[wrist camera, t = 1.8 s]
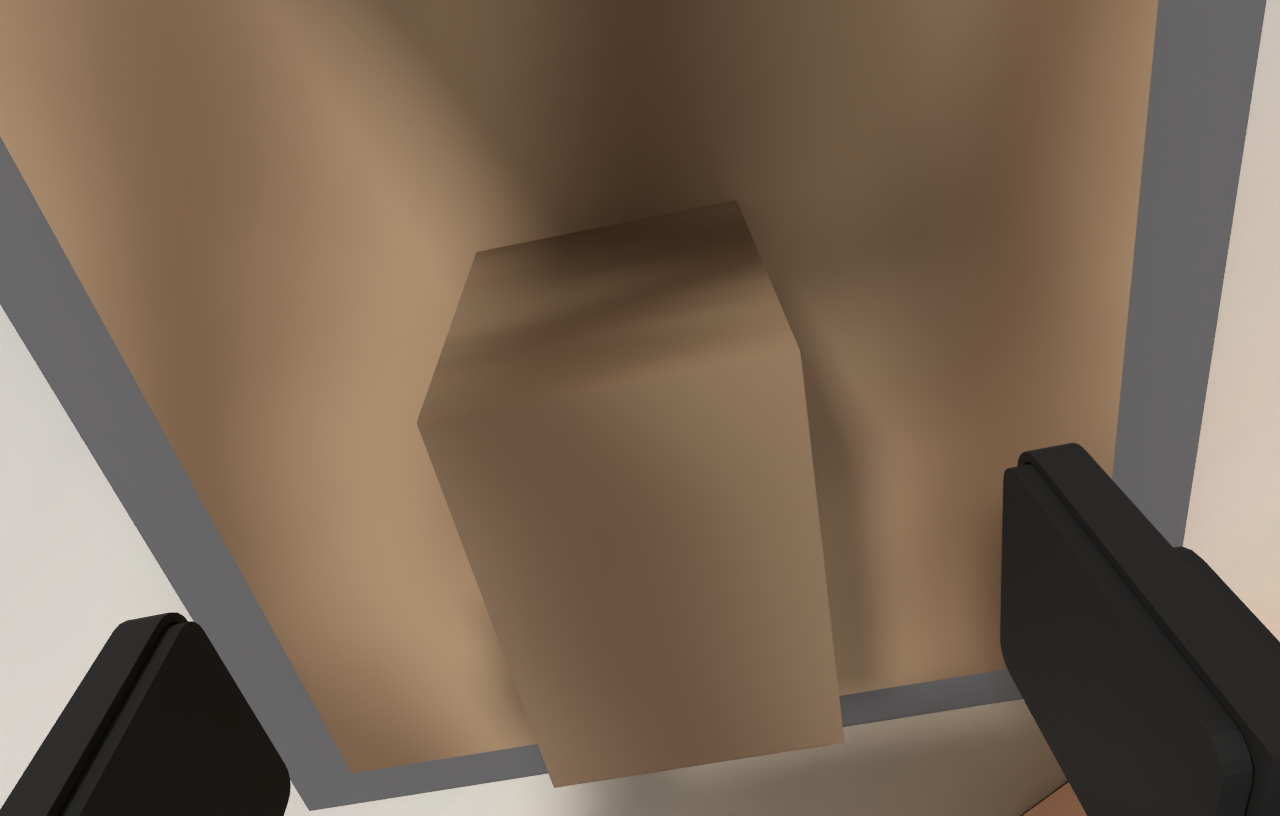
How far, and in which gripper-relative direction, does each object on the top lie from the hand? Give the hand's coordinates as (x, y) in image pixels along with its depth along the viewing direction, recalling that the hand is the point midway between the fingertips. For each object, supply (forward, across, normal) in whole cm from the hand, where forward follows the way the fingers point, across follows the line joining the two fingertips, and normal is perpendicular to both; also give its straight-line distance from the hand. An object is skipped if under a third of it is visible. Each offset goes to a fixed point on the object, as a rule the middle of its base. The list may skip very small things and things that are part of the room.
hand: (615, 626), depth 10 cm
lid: (+6, -1, 0) cm, 6 cm away
